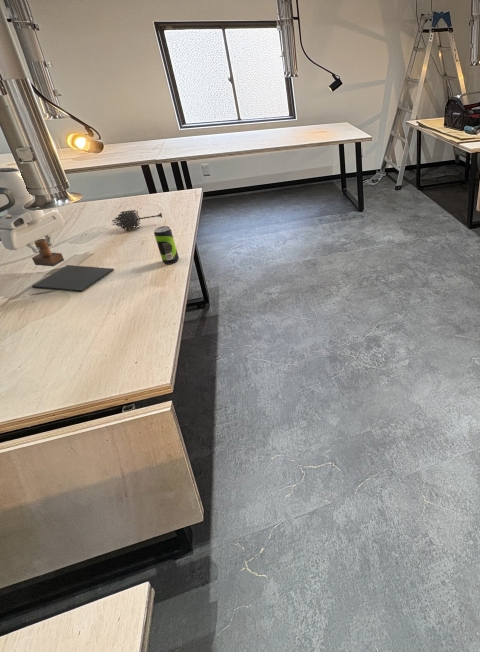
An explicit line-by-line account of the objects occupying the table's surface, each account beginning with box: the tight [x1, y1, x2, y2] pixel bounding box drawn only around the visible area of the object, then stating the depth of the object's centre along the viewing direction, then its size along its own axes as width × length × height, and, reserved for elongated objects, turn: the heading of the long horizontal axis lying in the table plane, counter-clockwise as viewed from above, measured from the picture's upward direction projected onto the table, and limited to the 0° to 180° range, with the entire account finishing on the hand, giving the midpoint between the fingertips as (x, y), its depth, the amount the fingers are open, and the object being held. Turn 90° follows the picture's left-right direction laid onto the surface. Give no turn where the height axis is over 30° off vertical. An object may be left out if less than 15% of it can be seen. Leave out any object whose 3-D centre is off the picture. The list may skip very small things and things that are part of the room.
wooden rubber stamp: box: [31, 238, 65, 267], centre depth 148 cm, size 8×4×9 cm, turn 79°
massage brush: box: [111, 209, 163, 231], centre depth 203 cm, size 9×22×9 cm, turn 113°
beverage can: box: [153, 225, 180, 265], centre depth 170 cm, size 6×6×15 cm
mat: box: [31, 264, 115, 293], centre depth 162 cm, size 22×16×1 cm
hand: (43, 249), depth 147 cm, fingers closed on wooden rubber stamp, 3 cm apart
